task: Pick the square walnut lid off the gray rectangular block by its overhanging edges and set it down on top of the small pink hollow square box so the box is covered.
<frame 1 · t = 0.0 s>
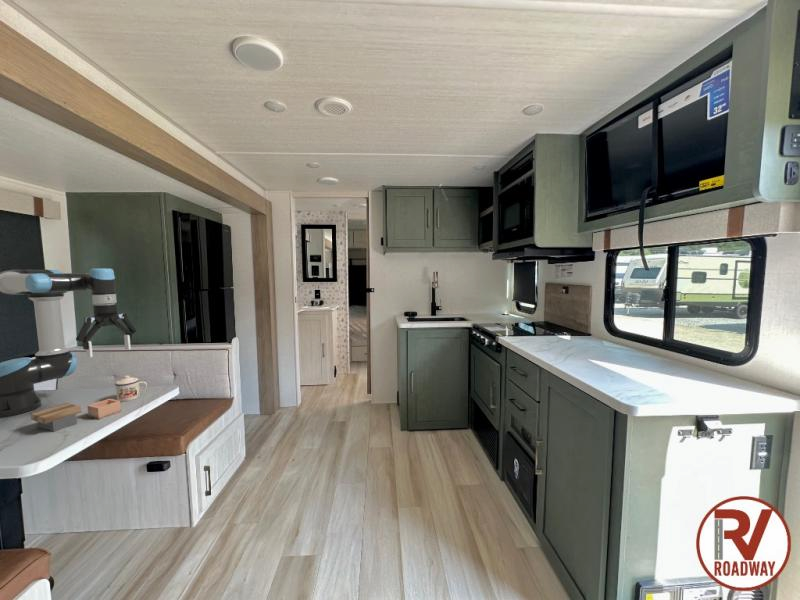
hand: (109, 352, 137), 28 cm above the table, fingers open, 13 cm apart
gray rectangular block: (57, 425, 131), on the table
lid: (56, 415, 130), point 4 cm above the table, touching gray rectangular block
teacup with lid: (132, 398, 159), on the table
pink hollow square box: (105, 414, 140), on the table
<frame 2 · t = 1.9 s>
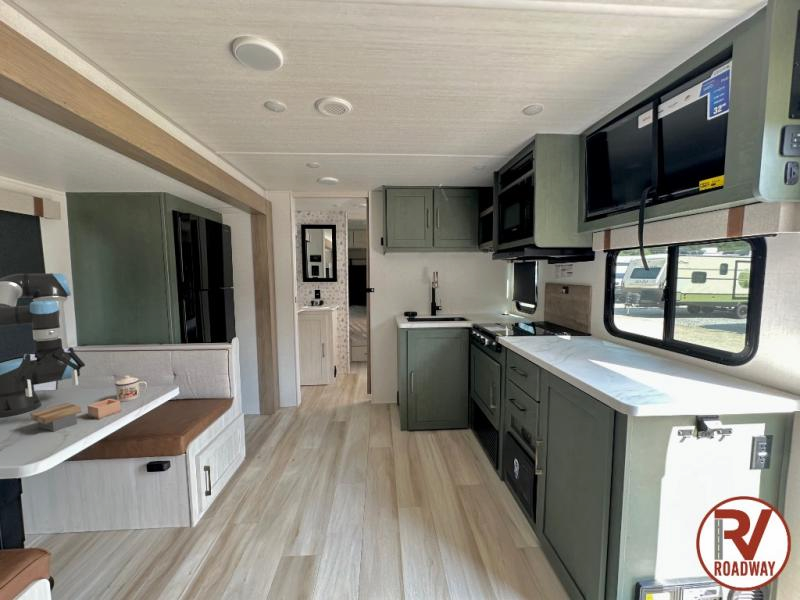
hand: (53, 390, 129), 15 cm above the table, fingers open, 13 cm apart
nothing on the table moved.
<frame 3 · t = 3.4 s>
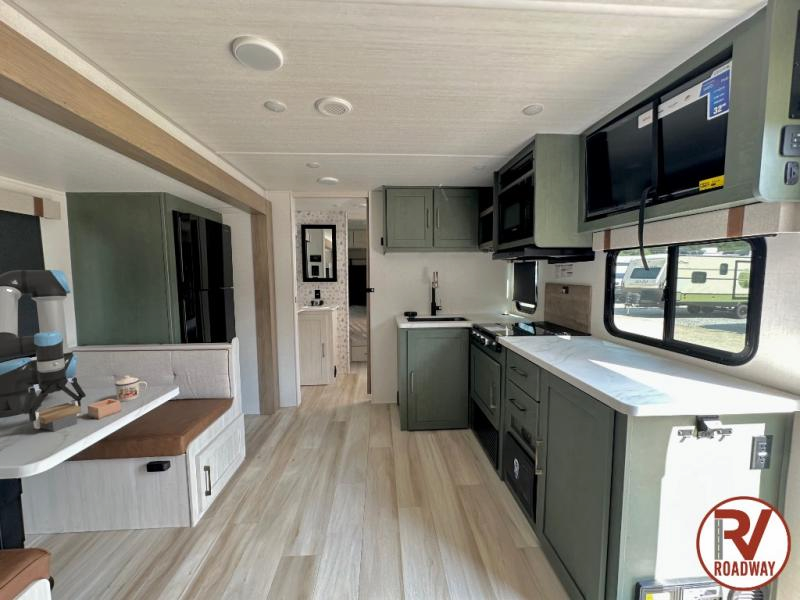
hand: (57, 421, 130), 2 cm above the table, fingers closed on lid, 11 cm apart
lid: (56, 415, 130), point 4 cm above the table, touching gripper, gray rectangular block
everything else where it was.
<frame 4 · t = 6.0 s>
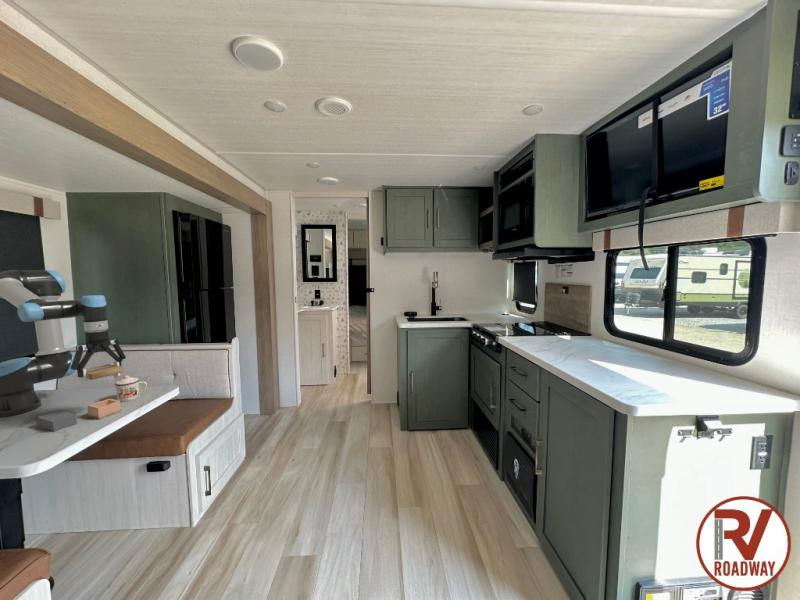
hand: (101, 379, 139), 16 cm above the table, fingers closed on lid, 11 cm apart
lid: (101, 374, 139), point 18 cm above the table, touching gripper
everything else where it was.
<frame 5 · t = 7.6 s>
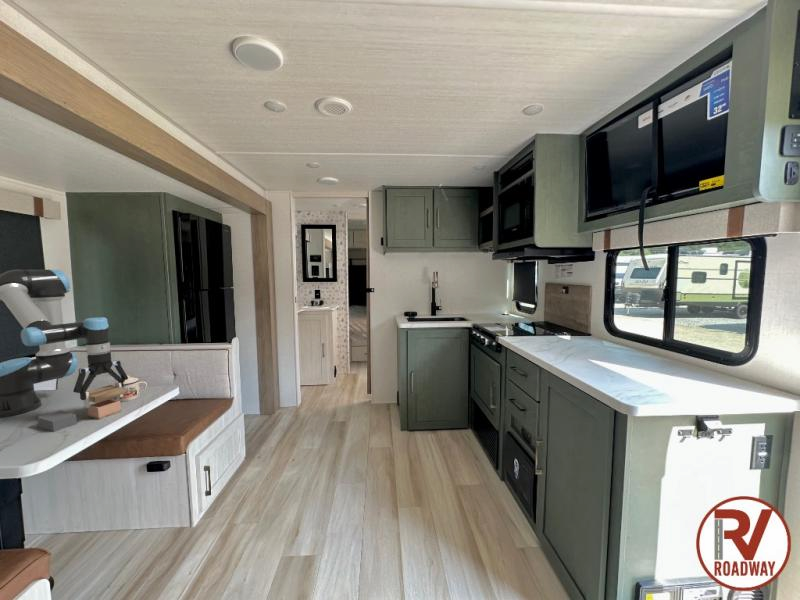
hand: (104, 401, 140), 6 cm above the table, fingers closed on lid, 11 cm apart
lid: (103, 396, 140), point 8 cm above the table, touching gripper
everything else where it was.
when the fingers open (4 cm above the table, at t = 8.6 s): lid drops 1 cm, resting on pink hollow square box.
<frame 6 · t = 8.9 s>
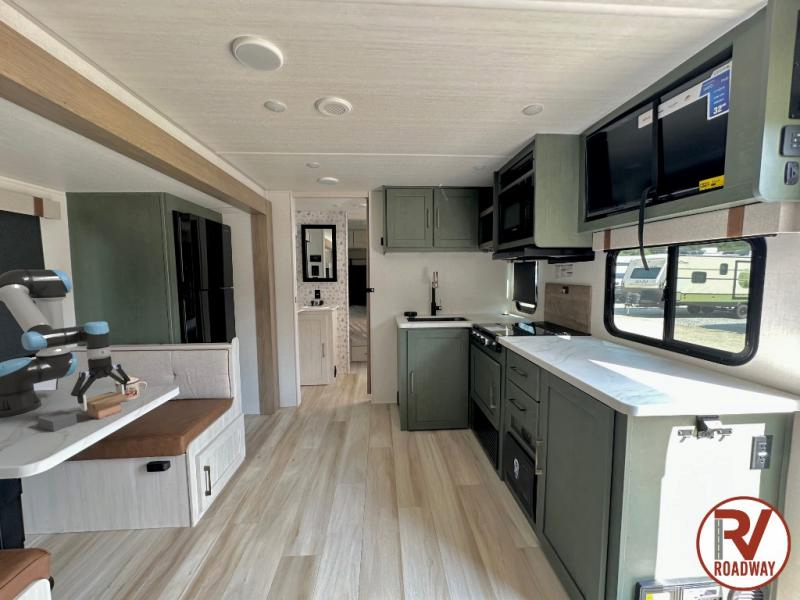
hand: (104, 403, 140), 5 cm above the table, fingers open, 13 cm apart
lid: (104, 403, 140), point 5 cm above the table, touching pink hollow square box
everything else where it was.
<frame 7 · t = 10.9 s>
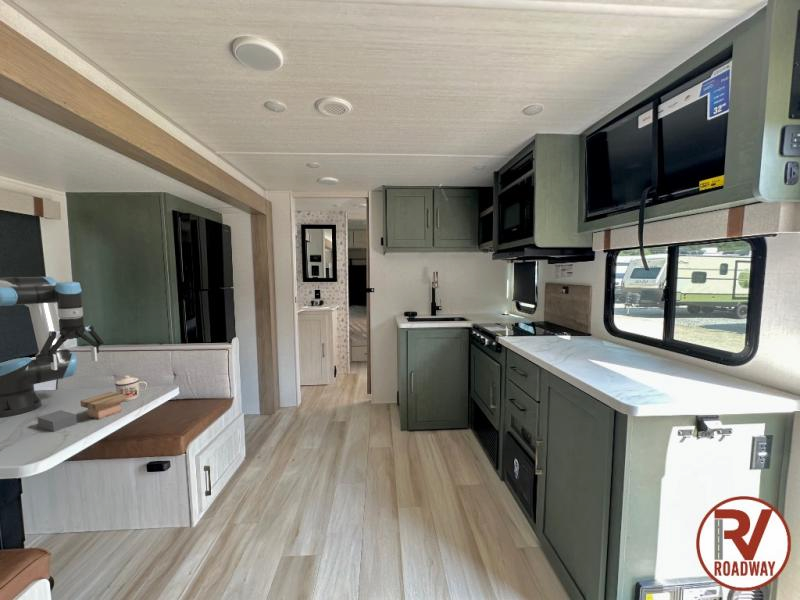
hand: (75, 364, 139), 22 cm above the table, fingers open, 13 cm apart
nothing on the table moved.
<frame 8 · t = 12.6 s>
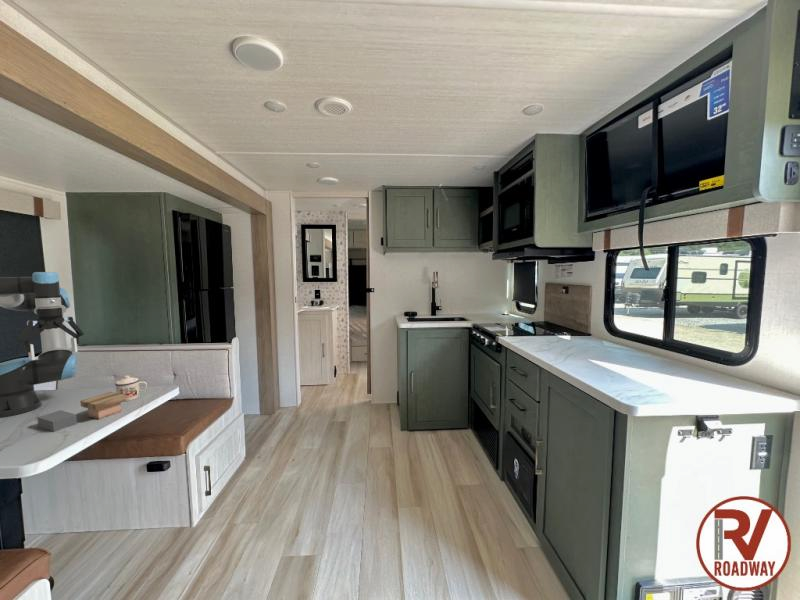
hand: (54, 355, 139), 27 cm above the table, fingers open, 13 cm apart
nothing on the table moved.
at the end: lid 0.0 cm off-centre on the pink hollow square box, point 5.0 cm above the pink hollow square box's base; lid tilted 0°; the gripper is holding nothing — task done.
